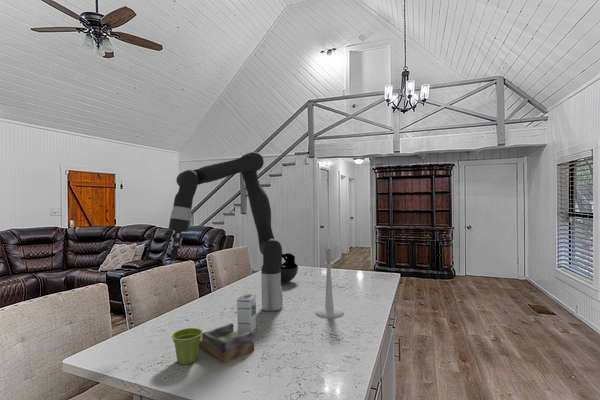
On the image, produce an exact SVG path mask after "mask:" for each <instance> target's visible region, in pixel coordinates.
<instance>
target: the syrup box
mask: <svg viewBox="0 0 600 400" xmlns="http://www.w3.org/2000/svg"><path fill="white" fill-rule="evenodd" d="M256 298H257V296H256V294H249V293H248V294H247V293H246V294H242V295H240V296H239V297H238V298H237V299H236V309H237V310H236V312H237V313H236V314H237V315H236V316H237V318H236V319H237V334H239V335H242V334H244V333H247V332H250V331H251V332H252V337H253V336H254V335H255V334H256V332H257V331H258V330H257V326H258V325H257V299H256Z"/></svg>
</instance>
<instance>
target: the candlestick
mask: <svg viewBox="0 0 600 400" xmlns="http://www.w3.org/2000/svg"><path fill="white" fill-rule="evenodd" d="M325 250H326V252H325V253H326V259H325V261H326V262H324V264H325V268H326V282H325V283H326V284H325V305H324V306H320V307H318V308H317V309H316V310H315V311H314V313H315V316H317V317H320V318H324V319H337V318H341V317H342V316H344V310H343V309H341V308H340V307H339V306H338V307H337V306H335V305H334V298H333V284H332V283H333V282H332V270H331V268H332V264H333V262H332V256H331V253H332V251H331V247H327V248H326V249H325Z"/></svg>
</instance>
